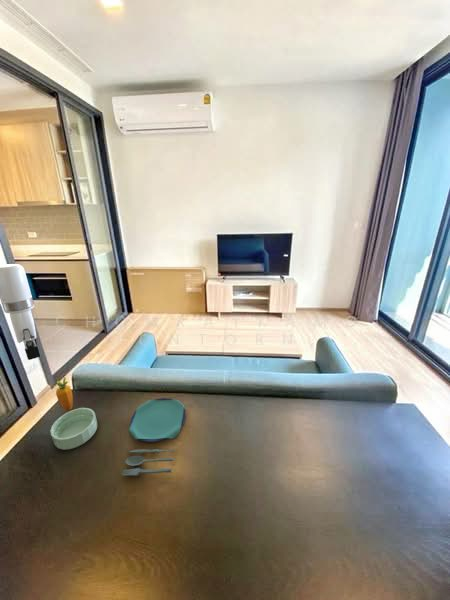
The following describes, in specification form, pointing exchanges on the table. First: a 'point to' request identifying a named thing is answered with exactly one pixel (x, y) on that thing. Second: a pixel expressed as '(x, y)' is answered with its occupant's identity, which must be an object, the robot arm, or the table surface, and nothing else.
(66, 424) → the bowl
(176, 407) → the cutlery set
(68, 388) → the carrot
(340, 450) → the table surface
